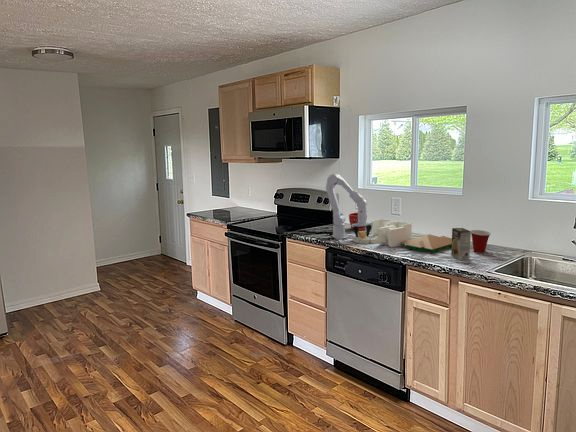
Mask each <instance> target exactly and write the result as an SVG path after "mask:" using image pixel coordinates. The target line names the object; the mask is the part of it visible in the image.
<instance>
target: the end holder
mask: <svg viewBox="0 0 576 432" xmlns="http://www.w3.org/2000/svg"><path fill="white" fill-rule="evenodd" d="M364 239H368V244H378V235H374V238H368V237H367V236H366V237H364Z"/></svg>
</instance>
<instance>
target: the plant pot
mask: <svg viewBox="0 0 576 432" xmlns="http://www.w3.org/2000/svg"><path fill="white" fill-rule="evenodd" d="M367 218H368V216H367V213H366V222H367ZM348 221H349V224H350V229H351V230H352V231H354V230H353V227H351V224H355V223H358V212H352V213H349V214H348ZM365 230H366V226H360V227H358V231H365Z"/></svg>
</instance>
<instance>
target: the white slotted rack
mask: <svg viewBox="0 0 576 432" xmlns="http://www.w3.org/2000/svg"><path fill="white" fill-rule="evenodd" d="M370 223H373V226H372V228H371V230H370V236H371V237H373V236H374V237H375V236H378V229H379V228H381V227H386V226H392V225H393V226H396V227H397V228H400V227H405V228H406V241H407V240H411V239H412V227H413V226H412V224H413V223H411V222H406V221H399V220H397V221H395V220H394V219H385V218H378V219H374V220H373V219H372V220H371V221H370Z"/></svg>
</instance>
